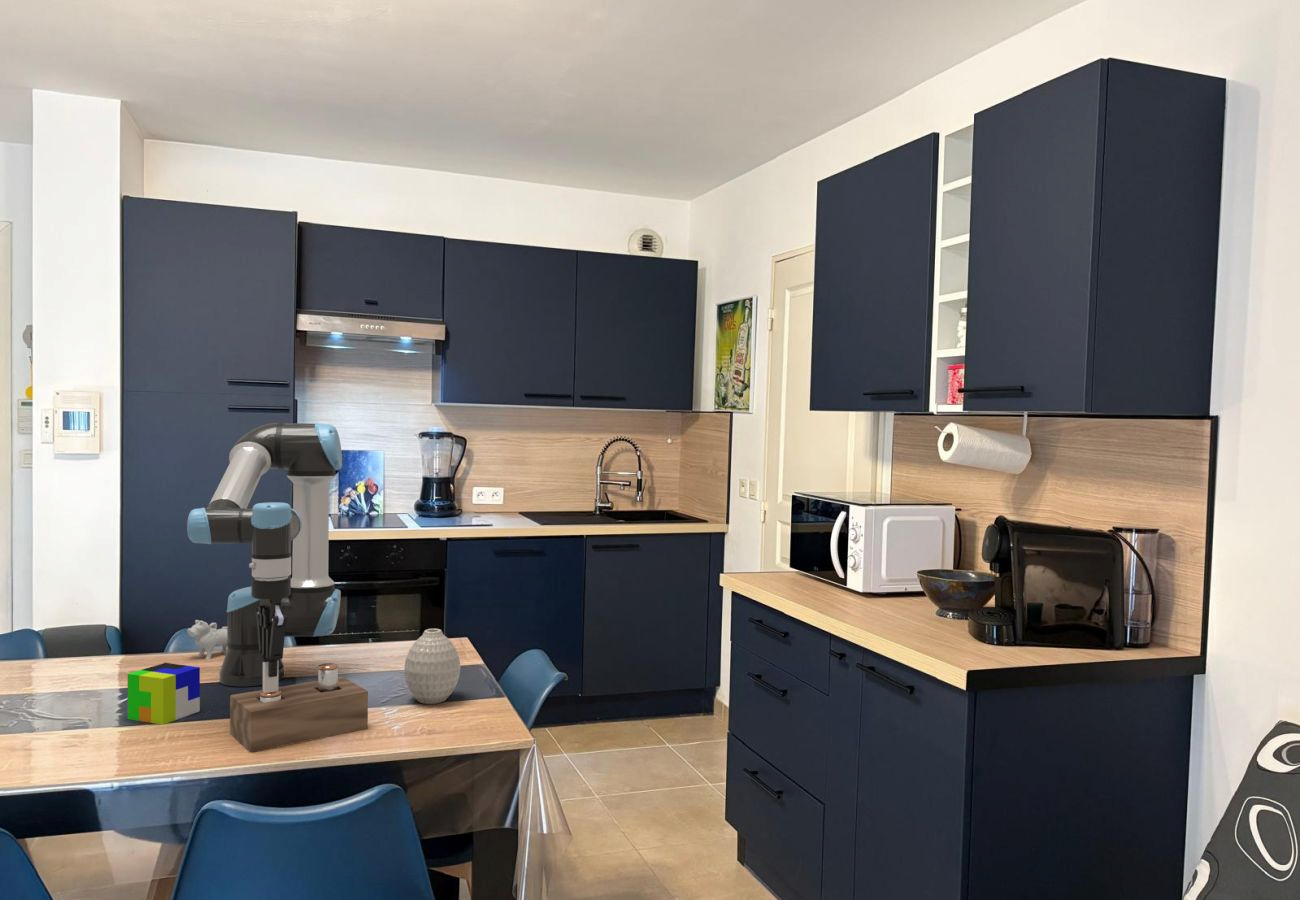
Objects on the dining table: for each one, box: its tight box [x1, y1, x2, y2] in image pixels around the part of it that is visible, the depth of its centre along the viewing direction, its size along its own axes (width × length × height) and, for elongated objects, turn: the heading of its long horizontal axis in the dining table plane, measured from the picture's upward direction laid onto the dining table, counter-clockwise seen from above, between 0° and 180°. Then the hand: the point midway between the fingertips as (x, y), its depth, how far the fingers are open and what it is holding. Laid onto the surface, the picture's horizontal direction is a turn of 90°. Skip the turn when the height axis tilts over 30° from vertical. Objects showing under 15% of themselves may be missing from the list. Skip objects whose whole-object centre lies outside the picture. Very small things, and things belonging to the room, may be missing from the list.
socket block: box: [229, 676, 369, 753], centre depth 196 cm, size 14×24×8 cm, turn 130°
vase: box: [403, 628, 461, 705], centre depth 218 cm, size 13×13×17 cm
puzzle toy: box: [127, 662, 201, 726], centre depth 204 cm, size 10×10×10 cm
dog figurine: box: [186, 619, 227, 661], centre depth 254 cm, size 5×13×11 cm, turn 145°
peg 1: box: [260, 690, 281, 703], centre depth 192 cm, size 4×4×8 cm
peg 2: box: [317, 662, 339, 693], centre depth 199 cm, size 4×4×8 cm
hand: (270, 691), depth 191 cm, fingers closed
